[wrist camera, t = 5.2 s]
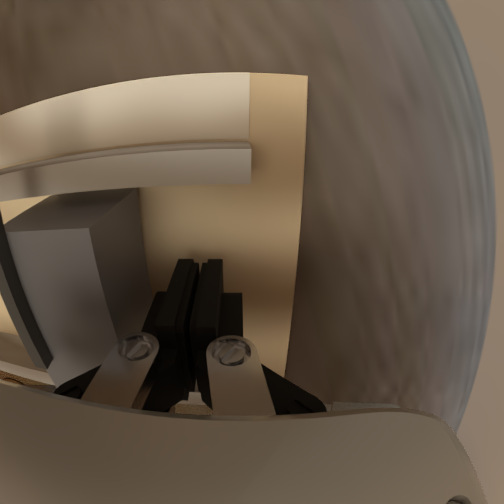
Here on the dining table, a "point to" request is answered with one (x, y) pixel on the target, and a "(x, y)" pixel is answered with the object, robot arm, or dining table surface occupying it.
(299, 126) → the gauge board
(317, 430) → the robot arm
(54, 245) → the slider
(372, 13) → the dining table surface
